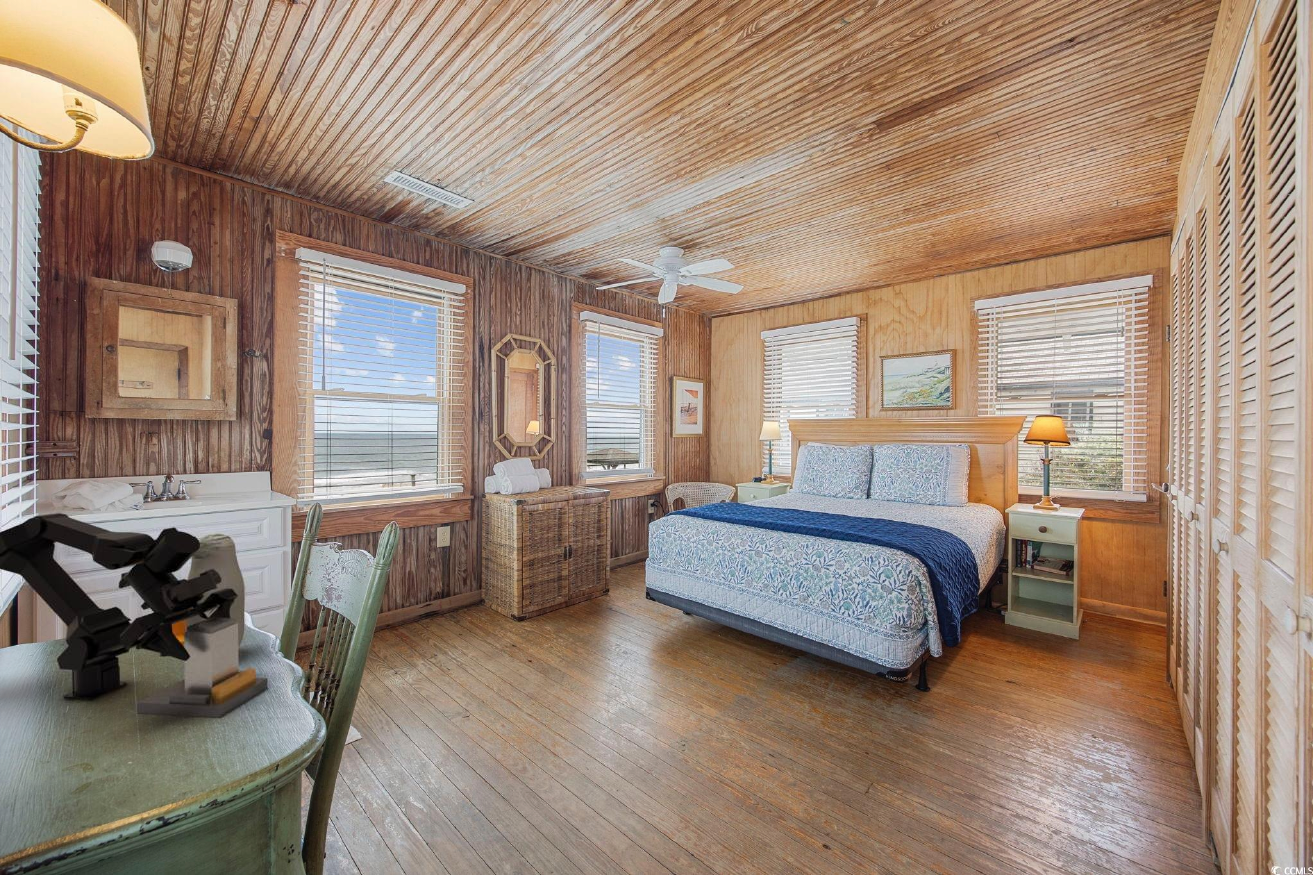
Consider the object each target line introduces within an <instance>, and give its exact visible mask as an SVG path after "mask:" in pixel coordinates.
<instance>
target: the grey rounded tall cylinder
mask: <svg viewBox="0 0 1313 875" xmlns="http://www.w3.org/2000/svg"><path fill="white" fill-rule="evenodd" d="M198 540H199V542H200V548H199V549H198V550H197V551H196V553H195V554H194V555H193V556H192V557H191V561H190V562H191V563H190V568H189V572H188V576H187V579H186V580H190V579H193V578H196V577H199V576H200V573H203V572H205V571H207V570H211V569H214V570H215V571H216V572H218V573H219V575H220V577H221V579H222V580H221V583H219V584H217V589H214V590H210V591H208V592H205V593H203V595H204V597H203V598H202V599H201V600H199V601H198V602H197V603H198V604H201V603H203V602H204V601H205V600H206V599H207V598H208V596H209V595H210V594H211V593H214V592H217V591H220V590H223V589H226V588H229V589H233V590H234V591H235V593H236V594H237V595H238V597H237V598H236V599H235V602H234V603H233V604H232V605H231V607H230V618H235V623H238V648H239V647H240V645H241V644H242V642H243V640H244V635H245V604H246V602H245V600H246V597H245V594H246V593H245V590H246V589H245V588H246V587H245V582H244V581H245V580H244V577H243V573H242V571H241V569H240V566H239V565H240V564H239V562H238V557H237V552H236V543H235V542H234V540H233V539H232V538H231V536H229V535H227V534H224V533H223V534H222V533H214V534H207V535H205V536H203V537H200V538H199V539H198ZM203 620H206V619H204V618H201V617H200V616H199V615H196V616H194V617H191V618H188V619H185V632H187V626H190V625H193V624H195V623H198V622H201V621H203Z"/></svg>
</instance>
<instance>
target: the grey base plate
mask: <svg viewBox="0 0 1313 875" xmlns="http://www.w3.org/2000/svg"><path fill="white" fill-rule="evenodd" d="M256 672H257V671H256V668H246V669H245V670H243V671H239V674H237V675H235V676H233V677H231V678H229V679H228V680H226V681H224V682H222V683H220V684H218V685H216V686H215V687H213V688H212V698H210V695H192V694H185V678H184V679H182V680H179V681H177V682H174V684H171V685H169V686H168V687H165V688H164V689H161V690H159V691H157V692H155V693H153V694H152V695H149V696H147V697H144V698H143V699H141V700H139V701H136V714H141V715H142V714H143V715H144V714H145V715H162V716H165V715H166V716H181V717H182V716H183V717H185V716H186V717H200V718H201V717H202V718H221V717H222V716H224V715H226V714H227V713H229V712H230V711H232V710H234V709H236V708H237V707H240V705H241V706H242V704H243V703H246V702H247V701H249V700H250V699H252V698H253V697H256V696H257V695H258V694H260V693H261V692H264V691H265V690H266V689H268V678H267V677H256V675H257V673H256Z"/></svg>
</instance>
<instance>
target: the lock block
mask: <svg viewBox="0 0 1313 875" xmlns="http://www.w3.org/2000/svg"><path fill="white" fill-rule="evenodd" d="M184 647H185V649H186V650H187V652H188V653H189V655H190V658H189V659H188V660H187V661H184V664H183V665H184V679H185V694H192V695H210V698H212V688H213V687H215V686H216V685H218V684H220V683H222V682H224V681H226V680H228V679H229V678H231V677H233V676H235V675H237V674H239V672H240V671H239V647H238V623H235V618H217V617H211V618H208V619H206V620H203V621H201V622H198V623H195V624H193V625H190V626H187V632H184Z"/></svg>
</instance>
